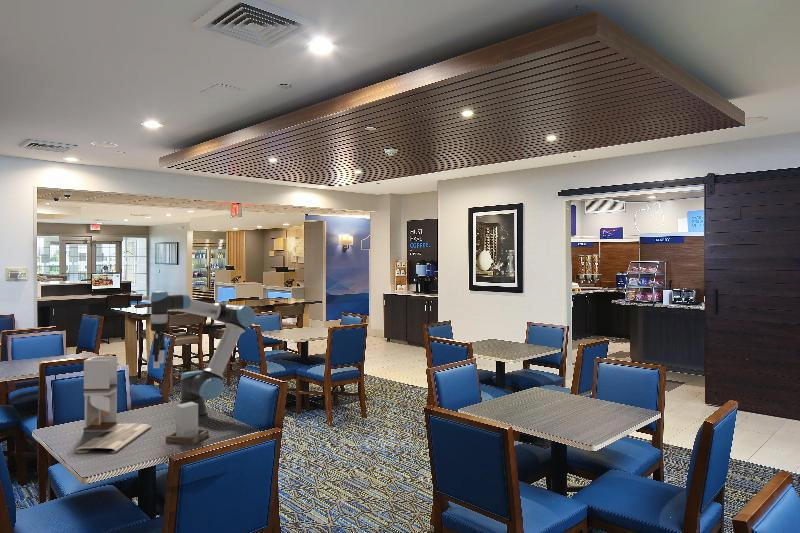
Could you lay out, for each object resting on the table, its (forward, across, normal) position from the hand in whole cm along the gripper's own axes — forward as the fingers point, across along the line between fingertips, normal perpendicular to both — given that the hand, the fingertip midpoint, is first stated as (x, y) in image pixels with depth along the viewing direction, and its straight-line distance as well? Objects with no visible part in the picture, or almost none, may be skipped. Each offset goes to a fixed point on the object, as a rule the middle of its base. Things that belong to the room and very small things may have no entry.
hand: (158, 365), depth 275 cm
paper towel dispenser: (+32, -7, -28) cm, 43 cm away
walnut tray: (+32, +18, +16) cm, 40 cm away
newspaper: (+32, +12, -16) cm, 38 cm away
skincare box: (+31, +19, +16) cm, 39 cm away
